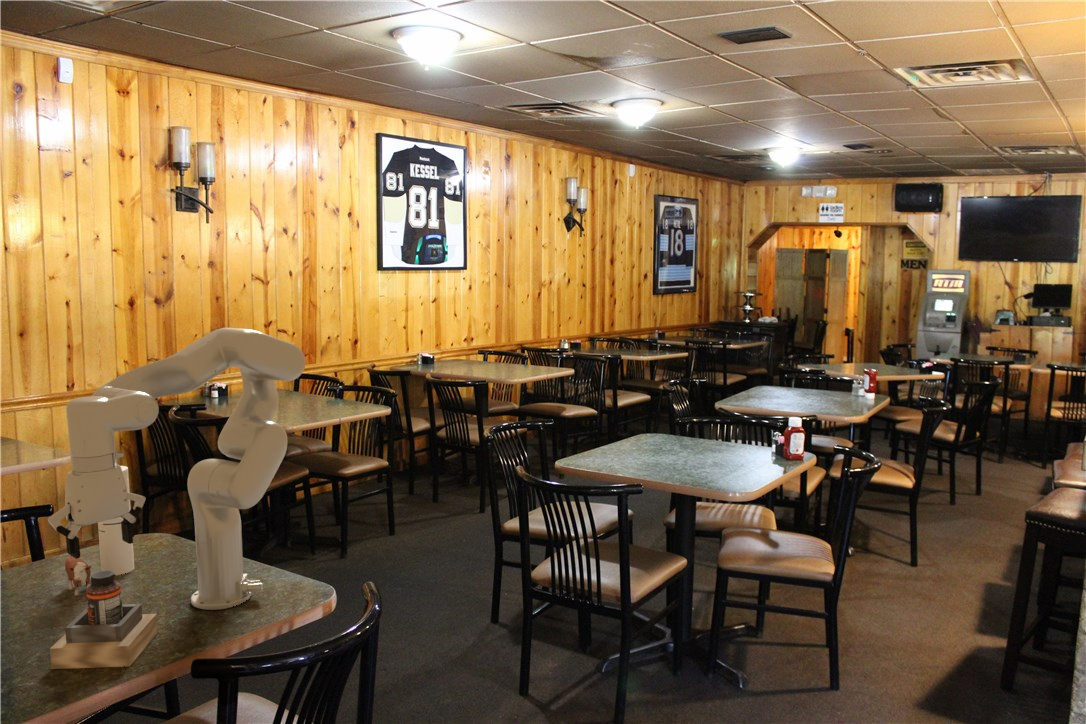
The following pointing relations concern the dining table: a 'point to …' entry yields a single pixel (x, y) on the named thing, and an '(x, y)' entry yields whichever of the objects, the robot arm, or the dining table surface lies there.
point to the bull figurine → (77, 573)
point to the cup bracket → (104, 640)
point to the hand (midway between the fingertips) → (102, 549)
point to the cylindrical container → (115, 542)
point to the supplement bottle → (104, 599)
